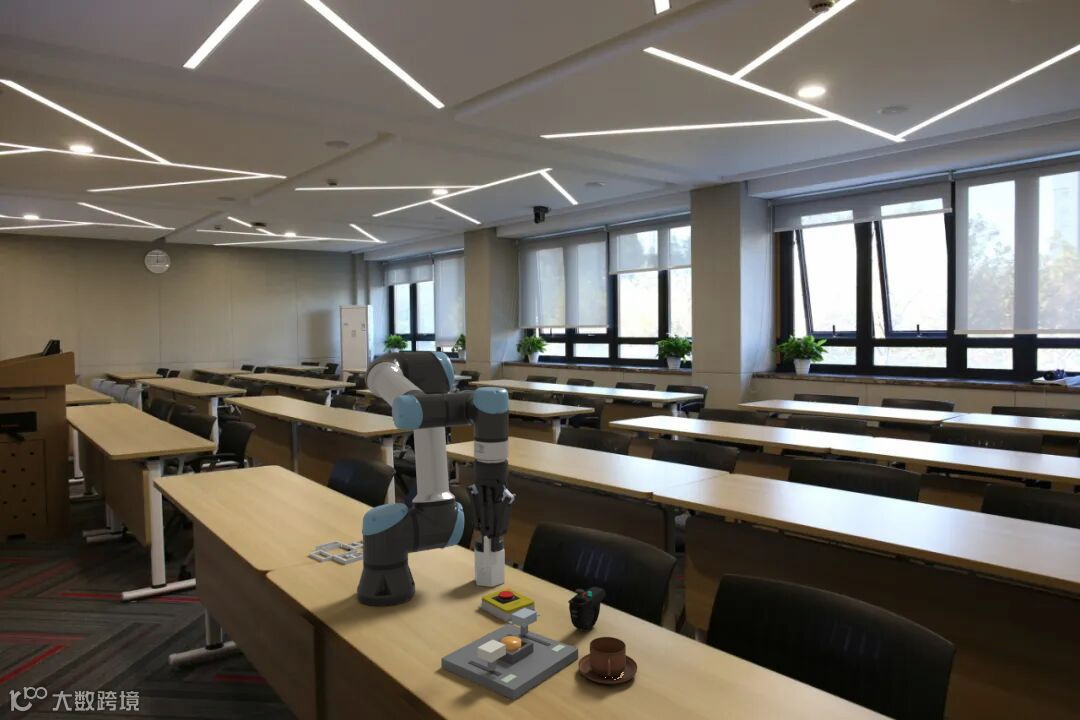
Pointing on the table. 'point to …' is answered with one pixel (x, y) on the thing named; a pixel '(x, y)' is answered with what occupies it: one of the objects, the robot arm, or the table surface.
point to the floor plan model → (339, 557)
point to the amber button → (511, 643)
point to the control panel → (511, 662)
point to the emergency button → (506, 604)
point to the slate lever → (524, 619)
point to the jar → (489, 574)
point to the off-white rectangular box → (491, 652)
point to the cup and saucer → (607, 661)
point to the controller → (586, 607)
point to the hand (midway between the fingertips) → (490, 564)
